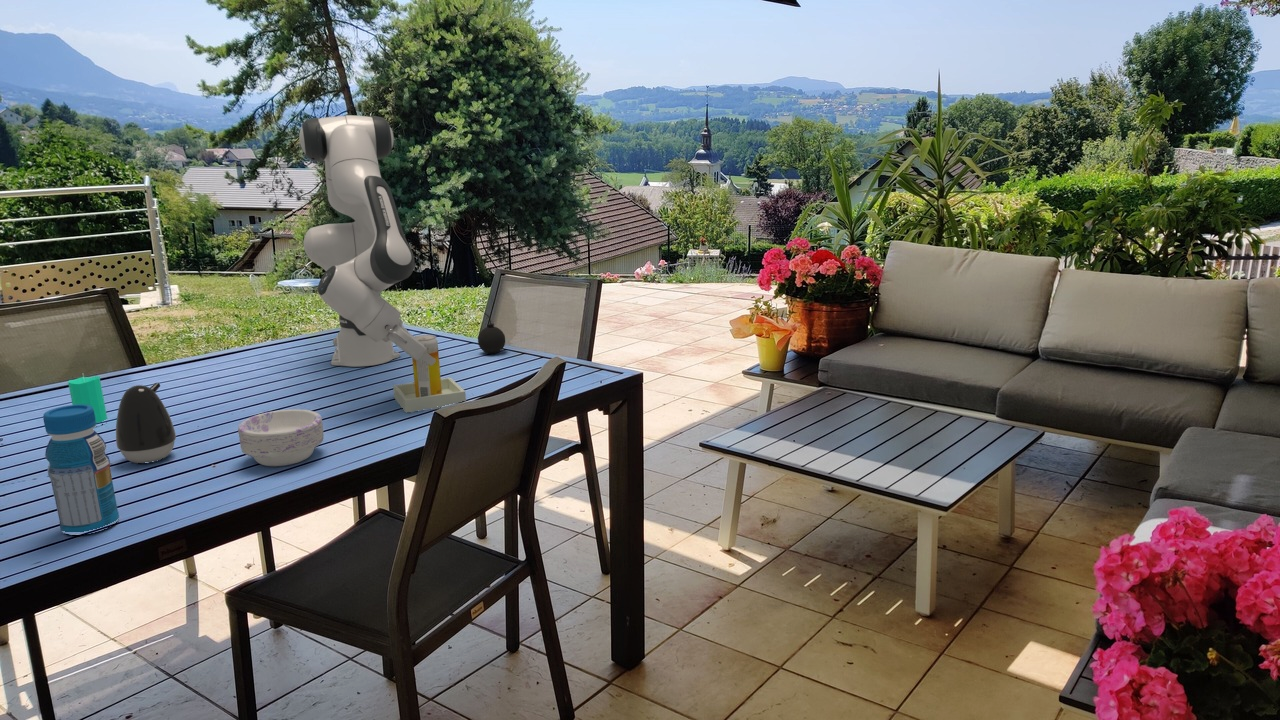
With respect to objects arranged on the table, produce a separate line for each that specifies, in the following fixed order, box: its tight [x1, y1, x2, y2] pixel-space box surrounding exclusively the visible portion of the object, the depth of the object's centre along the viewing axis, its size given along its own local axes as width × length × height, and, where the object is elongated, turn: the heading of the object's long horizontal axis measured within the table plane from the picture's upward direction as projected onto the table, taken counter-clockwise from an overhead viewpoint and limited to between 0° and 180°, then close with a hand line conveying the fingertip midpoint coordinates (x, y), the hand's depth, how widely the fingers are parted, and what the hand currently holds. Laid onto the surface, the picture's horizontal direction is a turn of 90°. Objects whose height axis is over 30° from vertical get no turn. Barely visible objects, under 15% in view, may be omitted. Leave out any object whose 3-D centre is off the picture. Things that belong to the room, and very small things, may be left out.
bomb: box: [477, 312, 506, 355], centre depth 247 cm, size 8×8×12 cm
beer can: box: [411, 334, 442, 398], centre depth 201 cm, size 6×6×15 cm
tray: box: [392, 377, 467, 414], centre depth 203 cm, size 14×14×3 cm
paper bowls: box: [237, 409, 324, 467], centre depth 167 cm, size 15×15×8 cm
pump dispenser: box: [115, 382, 177, 464], centre depth 168 cm, size 10×10×15 cm
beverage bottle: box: [42, 404, 120, 532], centre depth 137 cm, size 8×8×20 cm
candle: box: [67, 374, 108, 423], centre depth 190 cm, size 6×6×12 cm
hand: (428, 358), depth 201 cm, fingers open, 8 cm apart
